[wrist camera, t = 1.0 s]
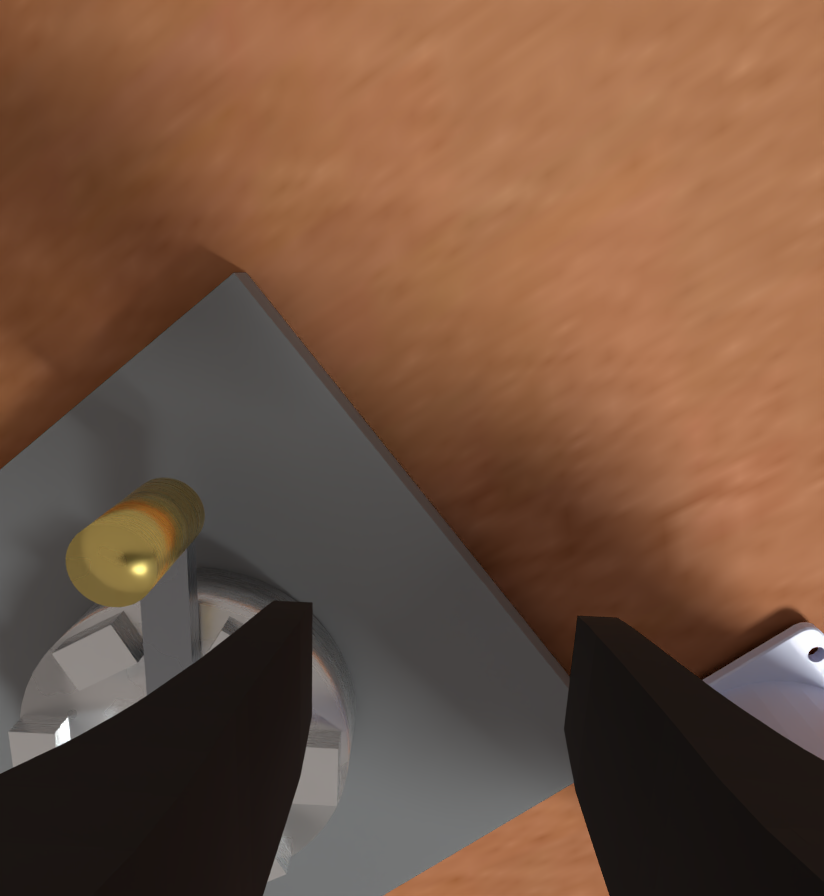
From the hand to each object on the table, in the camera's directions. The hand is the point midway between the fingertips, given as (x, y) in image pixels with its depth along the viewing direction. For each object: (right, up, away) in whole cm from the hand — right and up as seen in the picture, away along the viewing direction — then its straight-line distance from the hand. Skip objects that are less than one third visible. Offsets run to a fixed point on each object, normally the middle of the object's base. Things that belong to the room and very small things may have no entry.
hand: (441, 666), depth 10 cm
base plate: (-7, -4, +11) cm, 13 cm away
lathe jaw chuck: (-7, -3, +9) cm, 12 cm away
